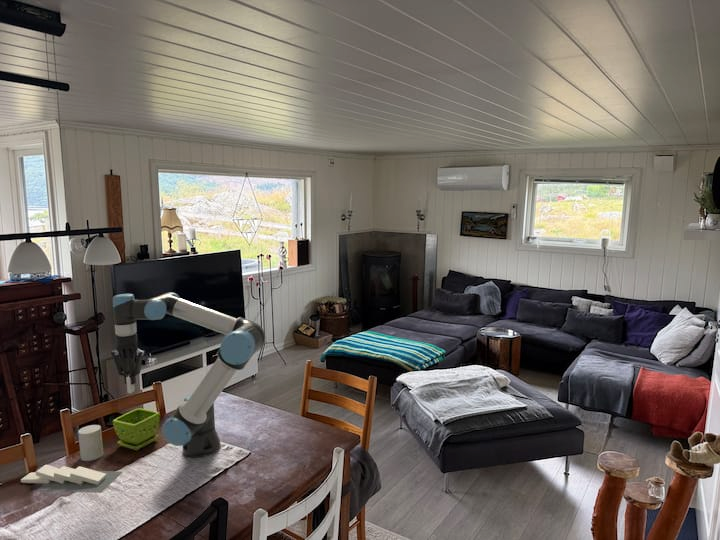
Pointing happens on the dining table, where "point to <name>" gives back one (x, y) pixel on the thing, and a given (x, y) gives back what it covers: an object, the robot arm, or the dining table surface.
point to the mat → (83, 487)
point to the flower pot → (137, 428)
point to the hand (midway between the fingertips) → (131, 391)
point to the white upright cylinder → (90, 442)
